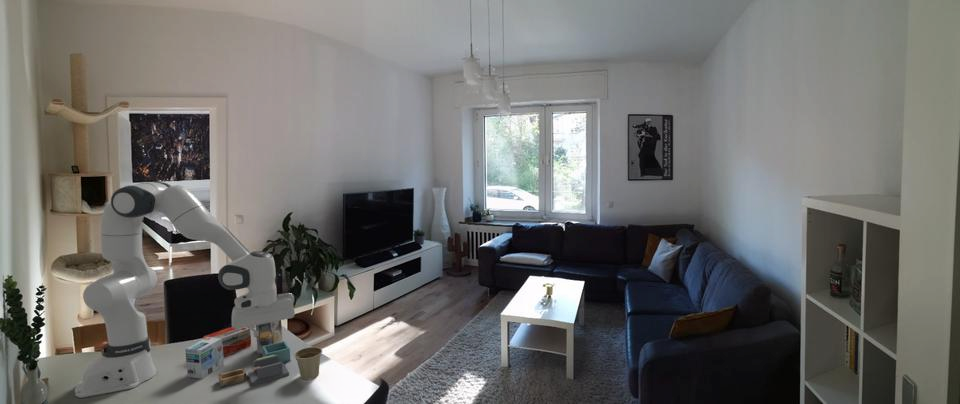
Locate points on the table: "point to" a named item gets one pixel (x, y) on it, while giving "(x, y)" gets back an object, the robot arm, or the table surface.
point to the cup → (278, 351)
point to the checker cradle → (267, 370)
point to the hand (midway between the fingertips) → (264, 334)
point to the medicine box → (233, 339)
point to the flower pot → (308, 361)
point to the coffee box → (274, 336)
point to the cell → (264, 333)
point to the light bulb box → (204, 357)
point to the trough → (232, 377)
